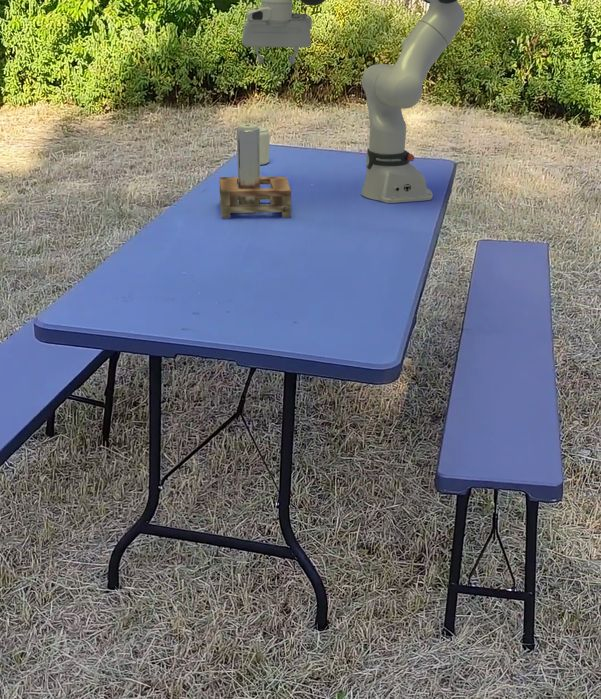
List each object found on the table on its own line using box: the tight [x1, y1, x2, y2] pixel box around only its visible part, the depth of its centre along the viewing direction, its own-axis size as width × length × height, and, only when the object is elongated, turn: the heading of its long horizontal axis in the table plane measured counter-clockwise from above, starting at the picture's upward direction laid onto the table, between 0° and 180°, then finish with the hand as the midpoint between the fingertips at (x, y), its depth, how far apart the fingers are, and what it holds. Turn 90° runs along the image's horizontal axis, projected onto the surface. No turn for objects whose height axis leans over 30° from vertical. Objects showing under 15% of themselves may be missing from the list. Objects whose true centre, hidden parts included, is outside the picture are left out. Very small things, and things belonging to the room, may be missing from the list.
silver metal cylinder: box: [236, 123, 261, 214], centre depth 248 cm, size 6×6×25 cm
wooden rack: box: [218, 176, 292, 219], centre depth 252 cm, size 20×15×8 cm
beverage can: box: [258, 126, 270, 166], centre depth 300 cm, size 8×8×12 cm
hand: (276, 62), depth 255 cm, fingers open, 8 cm apart
